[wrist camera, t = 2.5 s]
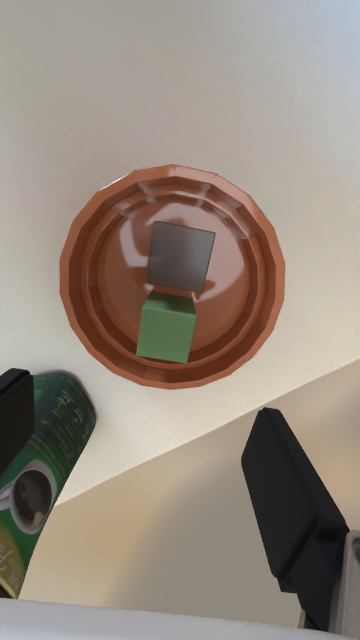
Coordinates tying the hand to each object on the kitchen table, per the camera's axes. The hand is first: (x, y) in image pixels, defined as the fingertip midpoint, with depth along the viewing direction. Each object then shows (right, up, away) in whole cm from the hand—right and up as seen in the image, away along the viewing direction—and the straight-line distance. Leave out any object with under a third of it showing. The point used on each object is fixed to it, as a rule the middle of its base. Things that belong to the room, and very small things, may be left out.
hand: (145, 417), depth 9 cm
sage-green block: (0, +5, +13) cm, 14 cm away
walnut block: (+1, +10, +11) cm, 15 cm away
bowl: (+1, +8, +13) cm, 15 cm away
